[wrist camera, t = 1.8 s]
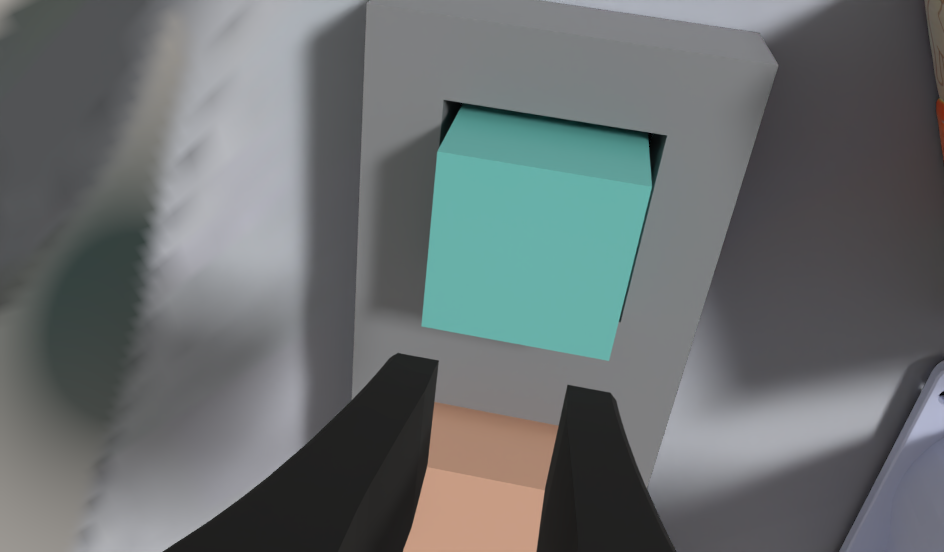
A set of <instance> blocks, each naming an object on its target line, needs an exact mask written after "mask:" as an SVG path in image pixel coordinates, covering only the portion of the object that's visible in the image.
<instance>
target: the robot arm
mask: <svg viewBox="0 0 944 552" xmlns="http://www.w3.org/2000/svg"><path fill="white" fill-rule="evenodd" d="M438 364H439V360H433V359H428V358H423V357H417V356H412V355H407V354H401V353H397V354H395V355H393V356H392V357H390V358H389V359H388V360H387V362H386V363H385V364H384V365H383V366H382V368H381V369H380V370H379V371H378V372H377V373H376V375H375V376H374V377H373V378H372V379H371V380H370V381H369V382H368V384H367V385H366V386H365V387H364V388H363V389H362V390H361V391H360V392H359V393H358V394H357V395H356V396H355V397H354V398H353V399H352V400H351V402H350V403H349V404H348V405H347V406H346V407H345V408H344V409H343V410H342V411H341V412H340V413H339V414H338V415H337V416H335V417H334V418H333V419H332V420H331V421H330V422H329V423H328V424H327V425H326V426H325V427H324V428H323V429H322V430H321V431H320V432H319V433H318V434H317V435H316V436H315V437H314V438H313V439H312V440H310V441H309V442H308V443H307V444H306V445H305V446H304V447H303V448H301V449H300V450H299V451H298V452H297V453H296V454H294V455H293V456H292V457H291V458H290V459H289V460H287V461H286V462H285V463H284V464H283V465H282V466H280V467H279V468H278V469H277V470H276V471H275V472H273V473H272V474H271V475H270V476H269V477H268V478H266V479H265V480H264V481H263V482H261V483H260V484H259V485H257V486H256V487H255V488H254V489H252V490H251V491H250V492H249V493H247V494H246V495H245V496H243V497H242V498H241V499H239V500H238V501H237V502H235V503H234V504H233V505H231V506H230V507H228V508H227V509H226V510H224V511H223V512H221V513H220V514H219V515H217V516H216V517H214V518H213V519H212V520H210V521H209V522H207V523H206V524H204V525H203V526H202V527H200V528H198V529H197V530H195V531H194V532H192V533H191V534H189V535H188V536H186V537H185V538H183V539H181V540H180V541H178V542H177V543H175V544H174V545H172V546H171V547H169V548H168V549H166V550H165V551H163V552H403V550H404V547H405V544H406V541H407V539H408V536H409V533H410V531H411V528H412V524H413V520H414V517H415V513H416V509H417V505H418V501H419V497H420V493H421V489H422V485H423V481H424V477H425V473H426V469H427V465H428V457H429V447H430V438H431V429H432V420H433V410H434V401H435V392H436V383H437V373H438ZM943 391H944V361H942V362H940V363H939V364H937V365H936V367H935V368H934V369H933V370H932V372H931V374H930V376H929V378H928V380H927V382H926V384H925V386H924V388H923V390H922V392H921V394H920V396H919V398H918V399H917V401H916V403H915V405H914V407H913V409H912V411H911V413H910V415H909V417H908V419H907V421H906V423H905V425H904V427H903V429H902V431H901V432H900V434H899V436H898V438H897V440H896V442H895V444H894V446H893V448H892V450H891V452H890V454H889V456H888V458H887V460H886V462H885V464H884V465H883V467H882V469H881V471H880V473H879V475H878V477H877V479H876V481H875V483H874V485H873V487H872V489H871V491H870V493H869V495H868V496H867V498H866V500H865V502H864V504H863V506H862V508H861V510H860V512H859V514H858V516H857V518H856V520H855V522H854V524H853V526H852V528H851V529H850V531H849V533H848V535H847V537H846V539H845V541H844V543H843V545H842V547H841V549H840V551H839V552H944V396H939V395H940V393H941V392H943ZM536 552H676V550H675V548H674V546H673V544H672V543H671V541H670V539H669V537H668V534H667V532H666V530H665V528H664V526H663V524H662V522H661V520H660V518H659V515H658V513H657V511H656V509H655V506H654V504H653V502H652V500H651V497H650V495H649V493H648V490H647V488H646V486H645V484H644V481H643V479H642V476H641V474H640V471H639V469H638V466H637V464H636V461H635V458H634V456H633V453H632V450H631V447H630V445H629V442H628V439H627V436H626V433H625V430H624V427H623V424H622V420H621V417H620V413H619V409H618V405H617V401H616V399H615V398H614V397H613V395H612V394H611V393H610V392H604V391H599V390H594V389H588V388H583V387H578V386H572V385H567V389H566V394H565V398H564V403H563V408H562V412H561V417H560V421H559V426H558V431H557V435H556V440H555V444H554V449H553V454H552V458H551V463H550V467H549V472H548V477H547V481H546V486H545V492H544V499H543V506H542V514H541V521H540V528H539V536H538V544H537V551H536Z"/></svg>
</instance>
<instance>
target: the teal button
mask: <svg viewBox="0 0 944 552" xmlns="http://www.w3.org/2000/svg"><path fill="white" fill-rule="evenodd" d="M651 189H652V180H651V167H650V154H649V141H648V132H643V131H636V130H630V129H624V128H618V127H611V126H605V125H599V124H592V123H586V122H580V121H574V120H567V119H561V118H555V117H549V116H542V115H536V114H530V113H524V112H517V111H511V110H505V109H499V108H492V107H486V106H480V105H473V104H467V103H463V104H462V106H461V108H460V110H459V112H458V114H457V116H456V117H455V119H454V121H453V123H452V125H451V127H450V129H449V131H448V132H447V134H446V136H445V138H444V140H443V142H442V144H441V146H440V147H439V149H438V151H437V161H436V172H435V183H434V194H433V205H432V216H431V227H430V238H429V249H428V260H427V271H426V282H425V293H424V304H423V314H422V325H421V326H422V327H427V328H433V329H438V330H444V331H449V332H454V333H460V334H465V335H471V336H476V337H482V338H487V339H493V340H498V341H503V342H509V343H514V344H520V345H525V346H531V347H536V348H541V349H547V350H552V351H558V352H563V353H569V354H574V355H580V356H585V357H590V358H596V359H601V360H607V361H609V359H610V355H611V351H612V347H613V343H614V339H615V335H616V331H617V327H618V323H619V318H620V314H621V310H622V306H623V302H624V298H625V294H626V290H627V286H628V282H629V278H630V274H631V270H632V266H633V262H634V258H635V254H636V250H637V246H638V242H639V238H640V234H641V229H642V225H643V221H644V217H645V213H646V209H647V205H648V201H649V197H650V193H651Z"/></svg>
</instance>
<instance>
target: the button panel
mask: <svg viewBox="0 0 944 552" xmlns="http://www.w3.org/2000/svg"><path fill="white" fill-rule="evenodd" d="M777 69H778V63H777V62H776V60H775V58H774V57H773V55H772V53H771V52H770V50H769V48H768V47H767V45H766V43H765V42H764V40H763V38H762V36H761V35H760V33H757V32H750V31H743V30H736V29H729V28H723V27H716V26H709V25H702V24H696V23H689V22H682V21H675V20H669V19H662V18H655V17H648V16H641V15H635V14H628V13H621V12H614V11H608V10H601V9H594V8H587V7H581V6H574V5H567V4H560V3H553V2H547V1H540V0H370V1H369V2H367V4H366V31H365V57H364V83H363V110H362V136H361V163H360V189H359V215H358V242H357V268H356V295H355V321H354V348H353V374H352V399H353V398H354V397H355V396H356V395H357V394H358V393H359V392H360V391H361V390H362V389H363V388H364V387H365V386H366V385H367V384H368V382H369V381H370V380H371V379H372V378H373V377H374V376H375V375H376V373H377V372H378V371H379V370H380V369H381V368H382V366H383V365H384V364H385V363H386V362H387V360H388V359H389V358H390V357H392V356H393V355H395V354H397V353H401V354H407V355H412V356H417V357H423V358H428V359H433V360H439V364H438V373H437V383H436V392H435V401H434V402H438V403H443V404H448V405H453V406H458V407H464V408H469V409H474V410H479V411H485V412H490V413H495V414H500V415H505V416H511V417H516V418H521V419H526V420H532V421H537V422H542V423H547V424H553V425H558V426H559V421H560V417H561V412H562V408H563V403H564V398H565V394H566V389H567V385H572V386H578V387H583V388H588V389H594V390H599V391H604V392H610V393H611V394H612V395H613V397H614V398H615V399H616V401H617V405H618V409H619V413H620V417H621V420H622V424H623V427H624V430H625V433H626V436H627V439H628V442H629V445H630V447H631V450H632V453H633V456H634V458H635V461H636V464H637V466H638V469H639V471H640V474H641V476H642V479H643V481H644V484H645V486H646V488H647V487H648V484H649V481H650V478H651V474H652V471H653V468H654V465H655V461H656V458H657V455H658V452H659V449H660V445H661V442H662V439H663V436H664V432H665V429H666V426H667V423H668V420H669V416H670V413H671V410H672V407H673V404H674V400H675V397H676V394H677V391H678V387H679V384H680V381H681V378H682V375H683V371H684V368H685V365H686V362H687V358H688V355H689V352H690V349H691V346H692V342H693V339H694V336H695V333H696V329H697V326H698V323H699V320H700V317H701V313H702V310H703V307H704V304H705V300H706V297H707V294H708V291H709V288H710V284H711V281H712V278H713V275H714V272H715V268H716V265H717V262H718V259H719V255H720V252H721V249H722V246H723V243H724V239H725V236H726V233H727V230H728V226H729V223H730V220H731V217H732V214H733V210H734V207H735V204H736V201H737V197H738V194H739V191H740V188H741V185H742V181H743V178H744V175H745V172H746V168H747V165H748V162H749V159H750V156H751V152H752V149H753V146H754V143H755V140H756V136H757V133H758V130H759V127H760V123H761V120H762V117H763V114H764V111H765V107H766V104H767V101H768V98H769V94H770V91H771V88H772V85H773V82H774V78H775V75H776V72H777ZM460 102H461V103H467V104H473V105H480V106H486V107H492V108H499V109H505V110H511V111H517V112H524V113H530V114H536V115H542V116H549V117H555V118H561V119H567V120H574V121H580V122H586V123H592V124H599V125H605V126H611V127H618V128H624V129H630V130H636V131H643V132H649V133H653V137H652V141H651V145H650V149H649V154H650V167H651V180H652V189H651V193H650V197H649V201H648V205H647V209H646V213H645V217H644V221H643V225H642V229H641V234H640V238H639V242H638V246H637V250H636V254H635V258H634V262H633V266H632V270H631V274H630V278H629V282H628V286H627V290H626V294H625V298H624V302H623V306H622V310H621V314H620V318H619V323H618V327H617V331H616V335H615V339H614V343H613V347H612V351H611V355H610V359H609V361H607V360H601V359H596V358H590V357H585V356H580V355H574V354H569V353H563V352H558V351H552V350H547V349H541V348H536V347H531V346H525V345H520V344H514V343H509V342H503V341H498V340H493V339H487V338H482V337H476V336H471V335H465V334H460V333H454V332H449V331H444V330H438V329H433V328H427V327H422V326H421V325H422V314H423V304H424V293H425V282H426V271H427V260H428V249H429V238H430V227H431V216H432V205H433V194H434V183H435V172H436V161H437V151H438V149H439V147H440V146H441V144H442V142H443V140H444V138H445V136H446V134H447V132H448V131H449V129H450V127H451V125H452V123H453V121H454V119H455V117H456V116H457V114H458V112H459V109H460Z"/></svg>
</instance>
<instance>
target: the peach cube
mask: <svg viewBox="0 0 944 552" xmlns="http://www.w3.org/2000/svg"><path fill="white" fill-rule="evenodd" d="M557 431H558V425H553V424H547V423H542V422H537V421H532V420H526V419H521V418H516V417H511V416H505V415H500V414H495V413H490V412H485V411H479V410H474V409H469V408H464V407H458V406H453V405H448V404H443V403H438V402H434V410H433V420H432V429H431V438H430V447H429V457H428V465H427V469H426V473H425V477H424V481H423V485H422V489H421V493H420V497H419V501H418V505H417V509H416V513H415V517H414V520H413V524H412V528H411V531H410V533H409V536H408V539H407V541H406V544H405V547H404V550H403V552H536V551H537V544H538V536H539V528H540V521H541V514H542V506H543V499H544V492H545V486H546V481H547V477H548V472H549V467H550V463H551V458H552V454H553V449H554V444H555V440H556V435H557Z"/></svg>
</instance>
